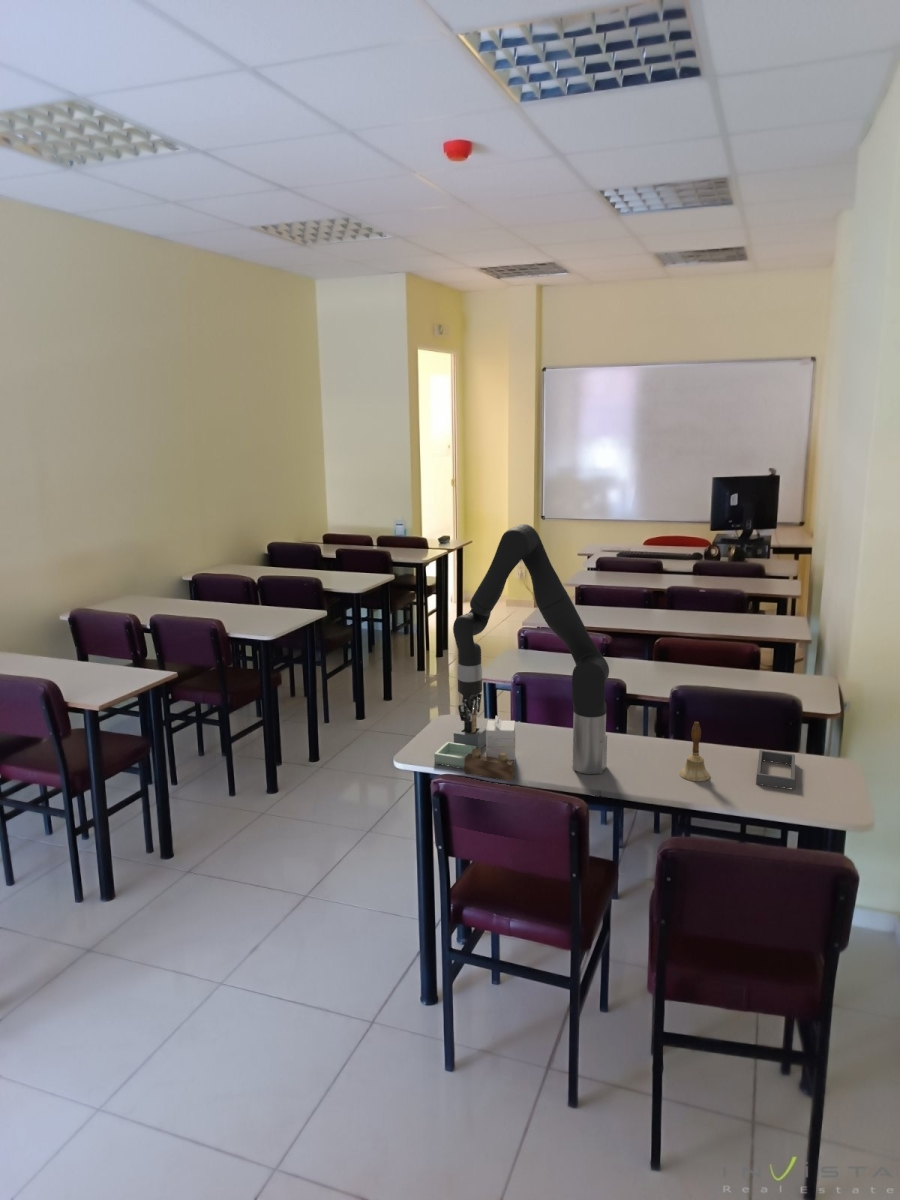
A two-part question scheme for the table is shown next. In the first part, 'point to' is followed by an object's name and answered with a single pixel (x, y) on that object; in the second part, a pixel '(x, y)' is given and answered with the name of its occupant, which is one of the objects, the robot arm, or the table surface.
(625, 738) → the table surface
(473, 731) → the dowel
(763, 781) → the frame
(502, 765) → the peg rack
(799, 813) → the table surface
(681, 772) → the hand bell
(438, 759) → the tray
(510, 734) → the ink box
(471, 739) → the socket block
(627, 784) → the table surface
